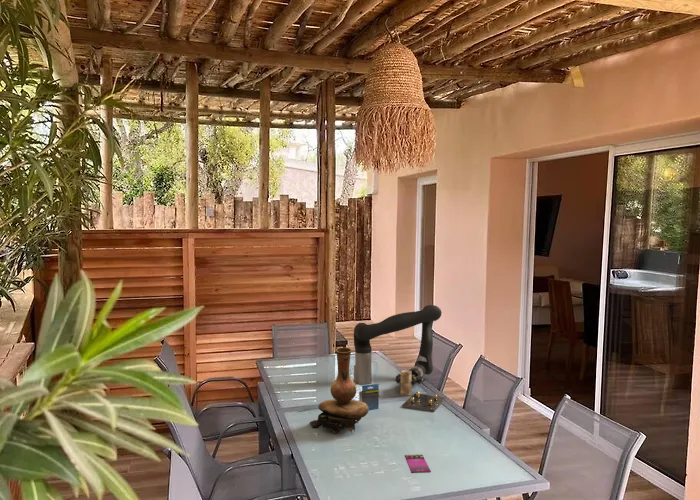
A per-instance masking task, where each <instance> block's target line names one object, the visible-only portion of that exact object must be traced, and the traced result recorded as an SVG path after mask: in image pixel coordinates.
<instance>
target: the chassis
mask: <svg viewBox="0 0 700 500" xmlns="http://www.w3.org/2000/svg"><path fill="white" fill-rule="evenodd" d="M444 399H445V400H446V397H445V396H438V394H437V393H434V394H433V395H429V394H423V393H422V394H421V392H420V391H417V392H416V393H414V394H412V396H411V395H410V397H409V398H408V399H407V400H406V401H404V402H403V403H402V405H401V408H403V409H411V410H417V411H426V412H433V413H434V412H436V411H437V409H438V408H439V407H440V406H441V405H442V404H443V403H444V401H445V400H444ZM443 400H444V401H443ZM442 402H443V403H442ZM441 403H442V404H441Z"/></svg>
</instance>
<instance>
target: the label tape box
mask: <svg viewBox="0 0 700 500" xmlns="http://www.w3.org/2000/svg"><path fill="white" fill-rule="evenodd" d="M379 385H380V384H379V383H375V384H372V383H371V384H361V391H359V393H358V395H359V396H358V398H359V399H358V401H360V402H364V403H366V404H367V406H368V408H369V411H370V410H376V409H379V406H380V405H379V400H380V399H379V397H380V392H379V391H380V389H379V387H380V386H379ZM370 387H371V388H370Z"/></svg>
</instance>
